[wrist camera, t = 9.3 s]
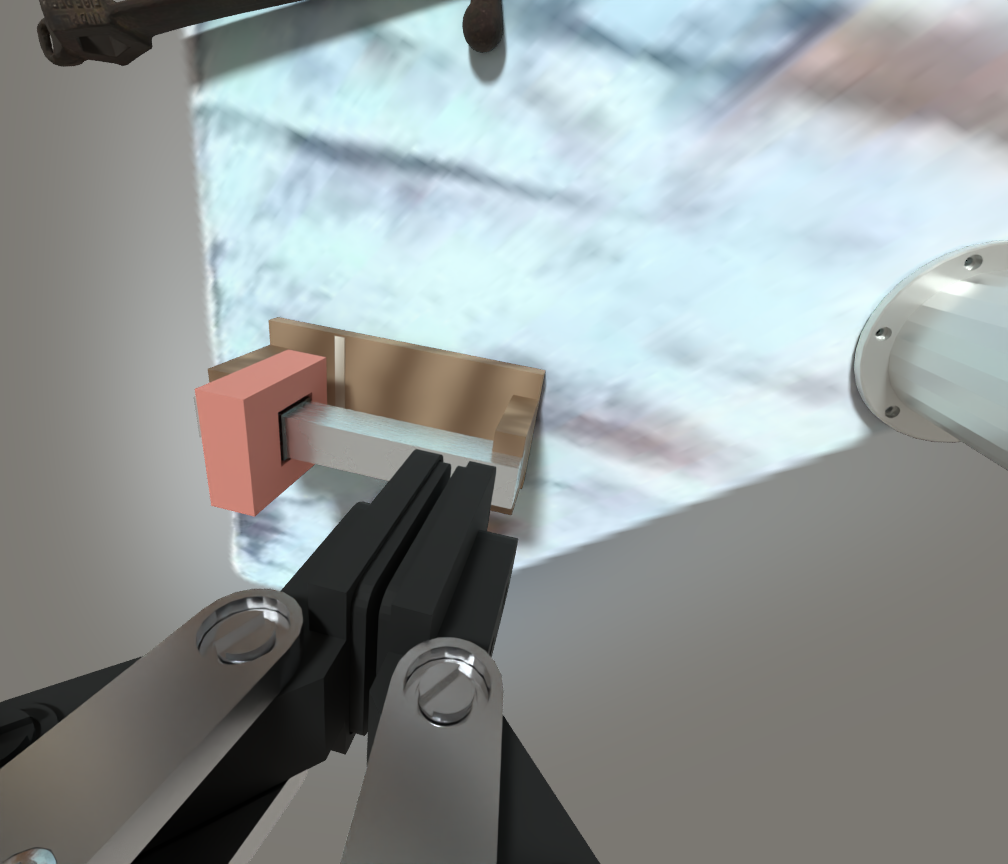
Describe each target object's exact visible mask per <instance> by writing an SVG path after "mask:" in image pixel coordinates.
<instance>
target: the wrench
mask: <svg viewBox="0 0 1008 864" xmlns="http://www.w3.org/2000/svg"><path fill="white" fill-rule="evenodd" d="M39 1H40V5H41V9H42V11H43V14H44V17H45V18H43V19H42V20H41V21H40V23H39V24H38V26H37V32H38V37H39V42H40V45H41V48H42V50H43V53H44V55H45V56H46V57H47V58H48V60H49V61H51V62H52V63H53V64H55V65H58V66H76V65H80V64H82V63H83V62H84V61H86V60H95V61H102V62H109V63H115V64H119V65H121V66H124V65H128V64H129V63H131V62H132V61H133V60H135V59H136V58H137V57H139V56H140V55H142V54H143V53H145V52H147V51H148V50H150V49H152V37H153V36H155V35H158V34H162V33H165V32H169V31H172V30H176V29H179V28H183V27H187V26H191V25H195V24H198V23H203V22H207V21H211V20H215V19H219V18H223V17H228V16H232V15H237V14H241V13H245V12H250V11H255V10H260V9H264V8H269V7H274V6H279V5H283V4H287V3H292V2H297V1H302V0H125V1H121V2H115V1H113V0H39ZM502 32H503V19H502V7H501V0H471V3H470V5H469V6H468V8H467V9H466V11H465V14H464V17H463V33H464V37H465V39H466V42H467V43H468V44H469V46H470V47H471V48H472V49H473V50H475V51H477V52H481V53H484V52H489V51H491V50H493V49H494V48H495V47H496V46H497V44H498V43H499V42H500V39H501V37H502ZM50 35H51V37H52V41H53V47H54V50H53V49H52V44H51V40H50Z"/></svg>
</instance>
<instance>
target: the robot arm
mask: <svg viewBox="0 0 1008 864" xmlns="http://www.w3.org/2000/svg"><path fill="white" fill-rule="evenodd" d="M967 259H968V260H967ZM966 260H967V262H966V264H965V261H966ZM879 329H880V332H879V333H878V334H876V332H877V331H878V330H879ZM854 373H855V380H856V386H857V388H858V391H859V393H860V396H861V398H862V400H863V402H864V403H865V404H866V406H867V407H868V408H869V410H870V411H871V412H872V413H873V414H874V415H875V416H877V417H878V418H879V419H880V420H881V421H883V422H884V423H885V424H887V425H888V426H890V427H891V428H893V429H895V430H896V431H898V432H900V433H903V434H905V435H908V436H911V437H913V438H916V439H921V440H926V441H931V442H952V443H953V442H963V443H965V444H966V445H968V446H970V447H971V448H973V449H974V450H976V451H977V452H979V453H981V454H982V455H984V456H985V457H987V458H989V459H990V460H992V461H993V462H995V463H997V464H998V465H1000V466H1001V467H1003V468H1005V469H1006V470H1008V241H991V242H986V243H981V244H976V245H971V246H967V247H964V248H962V249H959V250H956V251H953V252H950V253H948V254H945V255H943V256H941V257H939V258H937V259H935V260H933V261H931V262H929V263H927V264H926V265H924V266H922V267H920V268H919V269H918V270H916V271H915V272H913V273H912V274H911V275H909V276H908V277H906V278H905V279H904V280H902V281H901V282H900V283H899V284H898V285H897V286H896V287H895V288H894V289H893V290H892V291H891V292H890V293H889V294H887V295H886V296H885V297H884V299H883V300H882V301H881V303H880V304H879V305H878V306H877V308H876V309H875V310H874V312H873V313H872V314H871V316H870V318H869V320H868V321H867V323H866V325H865V327H864V329H863V331H862V333H861V336H860V339H859V342H858V345H857V348H856V352H855V362H854ZM888 407H889V408H888ZM887 408H888V409H887ZM443 461H444V460H443V455H441V454H437V453H432V452H428V451H423V450H419V449H415V450H414V451H413V452H412V453H411V454H410V456H409V457H408V458H407V459H406V461H405V462H404V463H403V464H402V466H401V467H400V468H399V469H398V471H397V472H396V473H395V474H394V476H393V477H392V478H391V479H390V481H389V482H388V483H387V484H386V486H385V487H384V488H383V489H382V491H381V492H380V493H379V494H378V496H377V497H376V498H375V499H374V500H373V502H372V503H371V504H370V503H366V502H358V503H357V504H356V505H354V506H353V507H352V508H351V510H350V511H349V512H348V513H347V514H346V515H345V517H344V518H343V519H342V520H341V521H340V522H339V524H338V525H337V526H336V527H335V528H334V529H333V531H332V532H331V533H330V534H329V535H328V536H327V538H326V539H325V540H324V541H323V542H322V543H321V545H320V546H319V547H318V548H317V549H316V550H315V552H314V553H313V554H312V555H311V556H310V557H309V559H308V560H307V561H306V562H305V563H304V564H303V566H302V567H301V568H300V569H299V570H298V571H297V573H296V574H295V575H294V576H293V577H292V578H291V580H290V581H289V582H288V583H287V584H286V585H285V587H284V588H283V589H282V590H281V591H277V590H273V589H250V590H244V591H239V592H235V593H232V594H230V595H227V596H225V597H222V598H220V599H218V600H216V601H215V602H213V603H212V604H210V605H209V606H207V607H205V608H204V609H202V610H201V611H200V612H199V613H197V614H196V615H195V616H193V617H192V618H191V619H190V620H188V621H187V622H186V623H185V624H183V625H182V626H181V627H180V628H178V629H177V630H176V631H174V632H173V633H172V634H171V635H169V636H168V637H167V638H166V639H165V640H163V641H162V642H161V643H159V644H158V645H157V646H155V647H154V648H153V649H152V650H150V651H149V652H148V653H147V654H145V655H144V656H142V657H139V658H136V659H133V660H130V661H126V662H124V663H120V664H117V665H114V666H111V667H108V668H105V669H102V670H99V671H95V672H92V673H89V674H86V675H83V676H80V677H77V678H74V679H71V680H68V681H64V682H61V683H58V684H55V685H52V686H49V687H46V688H43V689H40V690H36V691H33V692H30V693H27V694H24V695H21V696H18V697H15V698H12V699H9V700H5V701H3V702H0V864H248V863H249V861H250V860H251V859H252V857H253V856H254V854H255V853H256V851H257V850H258V849H259V847H260V845H261V844H262V843H263V841H264V840H265V838H266V837H267V835H268V834H269V833H270V831H271V830H272V828H273V827H274V825H275V824H276V822H277V821H278V819H279V818H280V816H281V815H282V814H283V812H284V811H285V809H286V808H287V806H288V805H289V803H290V802H291V800H292V799H293V797H294V796H295V794H296V793H297V792H298V790H299V789H300V787H301V785H302V783H303V781H304V779H305V777H306V775H307V772H308V769H309V768H311V767H313V766H315V765H317V764H319V763H321V762H323V761H325V760H326V759H327V756H328V755H329V753H330V751H331V750H332V751H336V752H339V753H342V754H346V753H347V751H348V749H349V747H350V745H351V742H352V740H353V738H354V736H355V734H356V733H357V734H360V735H363V736H365V735H366V734H367V732H368V746H367V768H366V772H365V775H364V779H363V782H362V786H361V790H360V793H359V797H358V801H357V804H356V808H355V811H354V815H353V818H352V822H351V826H350V829H349V833H348V837H347V840H346V843H345V847H344V851H343V854H342V858H341V862H340V864H600V863H599V861H598V860H597V858H596V857H595V855H594V854H593V852H592V851H591V849H590V847H589V846H588V844H587V843H586V841H585V840H584V838H583V837H582V835H581V834H580V832H579V831H578V829H577V828H576V826H575V824H574V823H573V821H572V820H571V818H570V817H569V815H568V814H567V812H566V811H565V809H564V808H563V806H562V805H561V803H560V802H559V800H558V799H557V797H556V795H555V794H554V793H553V791H552V789H551V788H550V786H549V785H548V783H547V782H546V780H545V779H544V777H543V775H542V774H541V773H540V771H539V769H538V768H537V767H536V765H535V763H534V762H533V760H532V759H531V757H530V756H529V754H528V753H527V751H526V749H525V748H524V746H523V745H522V743H521V742H520V740H519V739H518V737H517V736H516V734H515V733H514V731H513V730H512V728H511V727H510V725H509V723H508V722H507V720H506V719H505V717H504V716H503V693H504V691H503V682H502V675H501V673H500V671H499V669H498V667H497V665H496V663H495V661H494V660H493V659H492V658H491V657H492V653H493V649H494V645H495V641H496V637H497V633H498V629H499V625H500V621H501V617H502V613H503V609H504V605H505V601H506V596H507V592H508V588H509V583H510V578H511V574H512V569H513V564H514V559H515V554H516V548H517V543H518V539H517V538H513V537H509V536H505V535H500V534H496V533H492V532H488V531H487V527H488V521H489V515H490V508H491V502H492V496H493V490H494V484H495V477H496V467H495V466H491V465H486V464H482V463H477V462H473V461H469V463H468V464H467V466H466V467H463V466H457V467H456V469H455V471H454V473H453V474H452V476H451V464H449V463H445V462H443ZM450 477H451V478H450Z"/></svg>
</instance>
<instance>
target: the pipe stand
mask: <svg viewBox="0 0 1008 864" xmlns="http://www.w3.org/2000/svg"><path fill="white" fill-rule="evenodd" d="M269 333H270V345H268V346H266V347H263V348H261V349H258V350H255V351H253V352H250V353H248V354H245V355H243V356H240V357H237V358H235V359H232V360H230V361H227V362H224V363H222V364H219V365H217V366H214V367H212V368H209V369H208V374H209V382H213V381H215V380H217V379H220V378H222V377H224V376H227V375H229V374H231V373H234V372H236V371H239V370H241V369H243V368H246V367H248V366H250V365H253V364H255V363H257V362H260V361H262V360H265V359H267V358H269V357H272V356H274V355H276V354H279V353H281V352H283V351H286V350H293V351H298V352H303V353H308V354H313V355H318V356H322V357H326V367H327V405H330V406H335V407H340V408H344V409H349V410H353V411H358V412H363V413H367V414H372V415H376V416H381V417H386V418H390V419H395V420H399V421H404V422H409V423H413V424H418V425H423V426H427V427H432V428H436V429H441V430H446V431H450V432H455V433H459V434H464V435H469V436H473V437H478V438H482V439H487V440H492V441H493V448H492V451H493V452H497V453H502V454H506V455H511V456H515V457H520V458H522V459H523V454H524V451H525V454H524V459H523V464H522V462H521V464H522V470H521V475H520V480H519V486H518V489H517V492H516V495H515V499H514V502H513V505H512V508H511V509H508V508H503V507H499V506H495V505H491V508H490V510H491V511H495V512H500V513H504V514H508V515H512V512H513V509H514V506H515V502H516V499H517V496H518V492H519V489H522V487H523V483H524V479H525V474H526V469H527V463H528V458H529V453H530V448H531V443H532V437H533V432H534V427H535V422H536V416H537V411H538V406H539V401H540V396H541V390H542V385H543V380H544V375H545V370H541V369H536V368H531V367H526V366H521V365H516V364H511V363H506V362H501V361H496V360H491V359H486V358H481V357H476V356H471V355H466V354H461V353H456V352H451V351H446V350H441V349H435V348H430V347H425V346H420V345H415V344H410V343H405V342H400V341H395V340H390V339H385V338H380V337H375V336H370V335H365V334H360V333H355V332H350V331H345V330H340V329H335V328H330V327H325V326H320V325H315V324H310V323H305V322H300V321H295V320H290V319H285V318H280V317H277V318H274V319H270V320H269ZM520 468H521V467H520ZM519 474H520V473H519Z"/></svg>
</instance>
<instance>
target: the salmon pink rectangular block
mask: <svg viewBox="0 0 1008 864" xmlns="http://www.w3.org/2000/svg"><path fill="white" fill-rule="evenodd" d="M195 395H196V402H197V409H198V416H199V423H200V429H201V436H202V443H203V450H204V457H205V464H206V471H207V478H208V485H209V492H210V498H211V505H212V506H215V507H219V508H223V509H227V510H231V511H235V512H239V513H243V514H247V515H251V516H256V515H257V514H258V513H259V512H260V511H262V510H263V509H264V508H265V507H266V506H267V505H268V504H270V503H271V502H272V501H273V500H274V499H275V498H277V497H278V496H279V495H280V494H281V493H282V492H284V491H285V490H286V489H287V488H288V487H289V486H290V485H292V484H293V483H294V482H295V481H296V480H297V479H299V478H300V477H301V476H302V475H303V474H304V473H306V472H307V471H308V470H309V469H310V468H311V467H312V466H314V465H315V464H313V463H309V462H305V461H300V460H296V459H292V458H287V459H286V460H285V461H282V460H281V452H280V437H279V422H278V412H280V411H281V410H283V409H285V408H286V407H288V406H290V405H291V404H293V403H295V402H296V401H298V400H300V399H301V398H303V397H304V396H307V397H310V401H312V402H317V403H321V404H326V405H327V367H326V357H322V356H318V355H313V354H308V353H303V352H298V351H293V350H286V351H283V352H281V353H279V354H276V355H274V356H272V357H269V358H267V359H265V360H262V361H260V362H257V363H255V364H253V365H250V366H248V367H246V368H243V369H241V370H239V371H236V372H234V373H231V374H229V375H227V376H224V377H222V378H220V379H217V380H215V381H213V382H210V383H208V384H206V385H203V386H201V387H199V388H196V389H195Z"/></svg>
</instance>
